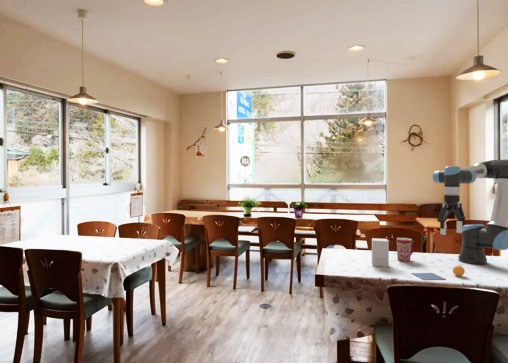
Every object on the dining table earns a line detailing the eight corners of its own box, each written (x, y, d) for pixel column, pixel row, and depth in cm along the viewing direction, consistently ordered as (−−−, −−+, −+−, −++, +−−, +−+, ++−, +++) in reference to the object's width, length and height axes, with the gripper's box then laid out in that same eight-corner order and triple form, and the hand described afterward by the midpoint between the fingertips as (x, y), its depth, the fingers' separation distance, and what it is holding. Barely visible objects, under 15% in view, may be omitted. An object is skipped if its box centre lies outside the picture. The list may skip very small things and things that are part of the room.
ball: (459, 274, 193) (459, 264, 193) (466, 277, 188) (467, 266, 188) (450, 274, 193) (450, 264, 193) (457, 277, 187) (457, 266, 187)
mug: (402, 262, 219) (402, 240, 219) (392, 259, 228) (393, 237, 228) (419, 261, 223) (420, 239, 222) (409, 258, 231) (410, 237, 231)
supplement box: (387, 263, 216) (387, 238, 216) (388, 267, 207) (389, 241, 207) (371, 262, 218) (371, 237, 218) (372, 266, 210) (372, 240, 209)
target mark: (432, 273, 195) (432, 272, 195) (446, 279, 183) (446, 279, 183) (411, 273, 194) (411, 273, 194) (423, 280, 182) (423, 279, 182)
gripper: (459, 193, 205) (459, 231, 205) (430, 194, 193) (429, 234, 194) (472, 194, 198) (472, 233, 198) (443, 195, 187) (442, 236, 187)
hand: (451, 233), depth 196 cm, fingers open, 13 cm apart
